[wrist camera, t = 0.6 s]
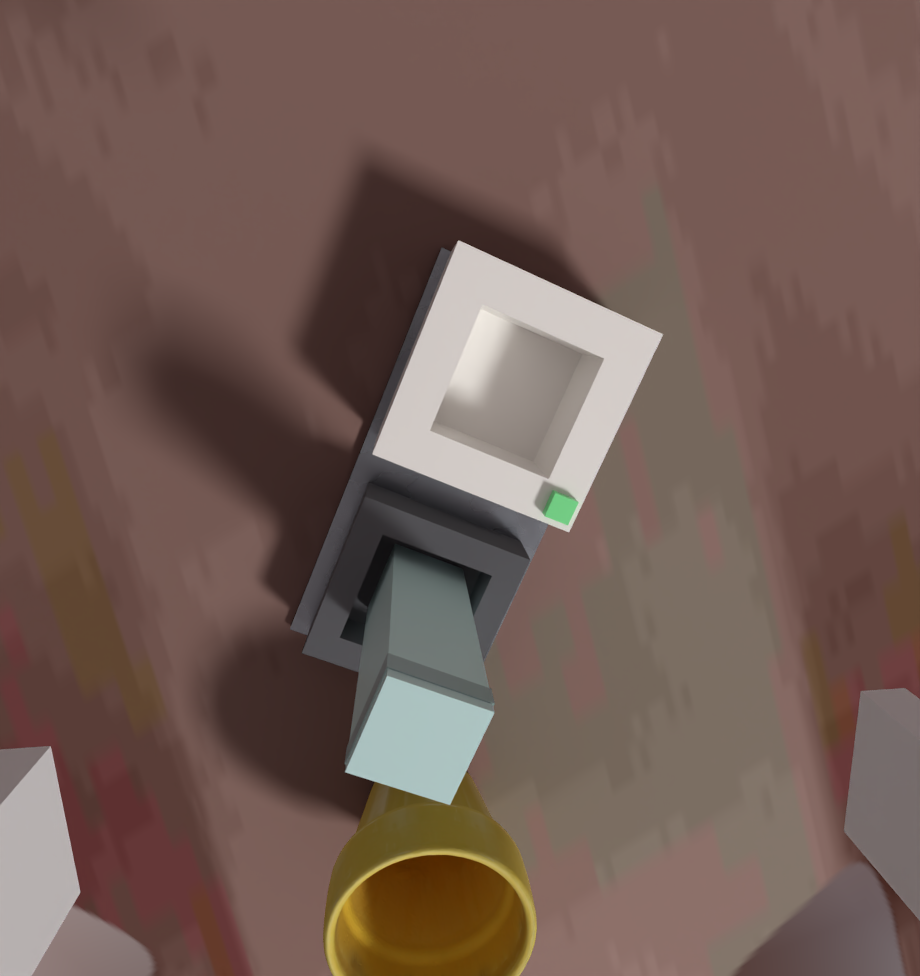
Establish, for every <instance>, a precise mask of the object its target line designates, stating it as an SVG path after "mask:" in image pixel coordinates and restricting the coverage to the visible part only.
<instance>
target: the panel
mask: <svg viewBox="0 0 920 976" xmlns="http://www.w3.org/2000/svg"><path fill="white" fill-rule="evenodd" d="M450 253H451V251H449V250H446V249H444V248H441V250H440V253H439V255H438V258H437V260H436V263H435V265H434V268H433V271H432V273H431V276H430V278H429V281H428V283H427V286H426V288H425V291H424V293H423V296H422V298H421V301H420V303H419V306H418V308H417V311H416V313H415V316H414V318H413V321H412V323H411V326H410V328H409V331H408V333H407V336H406V338H405V341H404V343H403V346H402V348H401V351H400V353H399V356H398V358H397V361H396V363H395V366H394V369H393V371H392V374H391V376H390V379H389V381H388V384H387V386H386V389H385V391H384V394H383V396H382V399H381V401H380V404H379V406H378V409H377V411H376V414H375V416H374V419H373V421H372V424H371V426H370V429H369V431H368V434H367V436H366V439H365V441H364V444H363V446H362V449H361V451H360V454H359V456H358V459H357V461H356V464H355V467H354V469H353V472H352V474H351V477H350V479H349V482H348V484H347V487H346V489H345V492H344V494H343V497H342V499H341V502H340V504H339V507H338V509H337V512H336V514H335V517H334V519H333V522H332V524H331V527H330V529H329V532H328V534H327V537H326V539H325V542H324V544H323V547H322V549H321V552H320V554H319V557H318V559H317V562H316V565H315V567H314V570H313V572H312V575H311V577H310V580H309V582H308V585H307V587H306V590H305V592H304V595H303V597H302V600H301V602H300V605H299V607H298V610H297V612H296V615H295V617H294V620H293V622H292V625H291V627H290V629H291V630H293V631H296V632H299V633H302V634H305V635H308V632H309V629H310V626H311V624H312V621H313V619H314V616H315V614H316V611H317V609H318V606H319V604H320V601H321V599H322V597H323V594H324V592H325V589H326V587H327V584H328V582H329V579H330V577H331V574H332V572H333V569H334V567H335V564H336V562H337V559H338V557H339V554H340V552H341V550H342V547H343V545H344V542H345V540H346V537H347V535H348V532H349V530H350V527H351V525H352V522H353V520H354V517H355V515H356V512H357V510H358V508H359V505H360V503H361V500H362V498H363V495H364V493H365V490H366V488H367V485H368V483H372V484H374V485H377V486H379V487H382V488H384V489H387V490H390V491H392V492H395V493H397V494H400V495H402V496H405V497H408V498H410V499H413V500H415V501H418V502H420V503H423V504H426V505H428V506H431V507H433V508H436V509H438V510H441V511H444V512H446V513H449V514H451V515H454V516H457V517H459V518H462V519H464V520H467V521H469V522H472V523H475V524H477V525H480V526H482V527H485V528H487V529H490V530H493V531H495V532H498V533H500V534H503V535H505V536H508V537H511V538H513V539H516V540H518V541H521V542H522V544H523V546H524V548H525V550H526V552H527V554H528V556H529V558H530V562H531V560H532V558H533V556H534V554H535V552H536V549H537V547H538V545H539V543H540V541H541V539H542V537H543V534H544V532H545V530H546V528H547V526H548V524H547V523H544V522H542V521H539V520H537V519H534V518H532V517H529V516H527V515H524V514H522V513H519V512H516V511H514V510H511V509H509V508H506V507H504V506H501V505H499V504H496V503H494V502H491V501H489V500H486V499H484V498H481V497H479V496H476V495H474V494H471V493H469V492H466V491H463V490H461V489H458V488H456V487H453V486H451V485H448V484H446V483H443V482H441V481H438V480H436V479H433V478H431V477H428V476H426V475H423V474H421V473H418V472H415V471H413V470H410V469H408V468H405V467H403V466H400V465H398V464H395V463H393V462H390V461H388V460H385V459H383V458H380V457H378V456H375V455H373V450H374V446H375V442H376V438H377V435H378V432H379V430H380V427H381V425H382V422H383V420H384V418H385V415H386V413H387V410H388V408H389V405H390V403H391V400H392V398H393V395H394V393H395V390H396V388H397V385H398V383H399V380H400V378H401V375H402V373H403V370H404V368H405V365H406V363H407V360H408V358H409V355H410V353H411V350H412V348H413V345H414V343H415V340H416V338H417V335H418V333H419V330H420V328H421V325H422V323H423V320H424V318H425V315H426V313H427V310H428V308H429V305H430V303H431V300H432V298H433V295H434V293H435V290H436V288H437V285H438V283H439V280H440V278H441V275H442V273H443V270H444V268H445V265H446V263H447V260H448V258H449V255H450ZM530 562H529V564H530ZM528 567H529V565H528ZM528 567H527V569H528ZM527 569H526V571H527ZM526 571H525V573H526ZM525 573H524V575H525ZM524 575H523V577H524ZM523 577H522V579H523ZM521 581H522V580H521ZM520 584H521V582H520ZM520 584H519V586H520ZM519 586H518V588H519ZM518 588H517V590H518ZM517 590H516V592H517ZM516 592H515V594H516ZM514 596H515V595H514ZM513 599H514V597H513ZM513 599H512V601H513ZM512 601H511V603H512ZM511 603H510V605H511ZM510 605H509V607H510ZM509 607H508V609H509ZM507 611H508V610H507ZM506 614H507V612H506ZM506 614H505V616H506ZM505 616H504V618H505ZM504 618H503V620H504ZM503 620H502V622H503ZM502 622H501V624H502ZM501 624H500V626H501ZM499 628H500V627H499ZM498 631H499V629H498ZM498 631H497V633H498ZM497 633H496V635H497ZM496 635H495V637H496ZM495 637H494V639H495ZM494 639H493V641H494ZM492 643H493V642H492ZM491 646H492V644H491ZM491 646H490V648H491ZM490 648H489V650H490ZM489 650H488V652H489ZM488 652H487V654H488ZM487 654H486V656H487ZM485 658H486V657H485ZM484 661H485V659H484ZM484 661H483V662H484Z"/></svg>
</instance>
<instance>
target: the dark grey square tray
mask: <svg viewBox="0 0 920 976" xmlns="http://www.w3.org/2000/svg"><path fill="white" fill-rule="evenodd" d="M394 544H398V545H401V546H403V547H406V548H409V549H411V550H414V551H417V552H419V553H422V554H425V555H427V556H430V557H433V558H435V559H438V560H441V561H443V562H446V563H449V564H451V565H454V566H457V567H459V568H462V569H463V572H464V576H465V581H466V586H467V590H468V595H469V599H470V604H471V608H472V613H473V617H474V622H475V626H476V631H477V635H478V640H479V644H480V649H481V653H482V658H483V661H484V659H485V657H486V654H487V652H488V650H489V648H490V646H491V644H492V642H493V639H494V637H495V635H496V633H497V631H498V629H499V627H500V624H501V622H502V620H503V618H504V616H505V614H506V612H507V610H508V607H509V605H510V603H511V601H512V599H513V597H514V595H515V592H516V590H517V588H518V586H519V584H520V582H521V580H522V577H523V575H524V573H525V571H526V569H527V567H528V565H529V562H530V558H529V556H528V554H527V552H526V550H525V548H524V546H523V544H522V542H521V541H518V540H516V539H513V538H511V537H508V536H505V535H503V534H500V533H498V532H495V531H493V530H490V529H487V528H485V527H482V526H480V525H477V524H475V523H472V522H469V521H467V520H464V519H462V518H459V517H457V516H454V515H451V514H449V513H446V512H444V511H441V510H438V509H436V508H433V507H431V506H428V505H426V504H423V503H420V502H418V501H415V500H413V499H410V498H408V497H405V496H402V495H400V494H397V493H395V492H392V491H390V490H387V489H384V488H382V487H379V486H377V485H374V484H372V483H368V485H367V488H366V490H365V493H364V495H363V498H362V500H361V503H360V505H359V508H358V510H357V512H356V515H355V517H354V520H353V522H352V525H351V527H350V530H349V532H348V535H347V537H346V540H345V542H344V545H343V547H342V550H341V552H340V554H339V557H338V559H337V562H336V564H335V567H334V569H333V572H332V574H331V577H330V579H329V582H328V584H327V587H326V589H325V592H324V594H323V597H322V599H321V601H320V604H319V606H318V609H317V611H316V614H315V616H314V619H313V621H312V624H311V626H310V629H309V632H308V635H307V638H306V642H305V645H304V648H303V651H302V653H303V654H306V655H309V656H312V657H315V658H318V659H321V660H324V661H327V662H330V663H333V664H335V665H338V666H341V667H344V668H347V669H350V670H353V671H356V672H359V667H360V660H361V653H362V646H363V638H364V631H365V624H366V617H367V609H368V606H369V603H370V601H371V599H372V596H373V594H374V591H375V589H376V587H377V584H378V582H379V580H380V577H381V575H382V572H383V570H384V568H385V565H386V563H387V561H388V558H389V556H390V553H391V551H392V549H393V546H394Z"/></svg>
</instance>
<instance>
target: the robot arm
mask: <svg viewBox="0 0 920 976" xmlns="http://www.w3.org/2000/svg"><path fill="white" fill-rule="evenodd" d="M844 832H845V833H846V834H847V835H848V837H849V838H850V839H851V840H852V841H853V842H854V844H855V845H856V846H857V847H858V848H859V850H860V851H861V852H862V853H863V854H864V855H865V857H866V858H867V859H868V860H869V861H870V862H871V864H872V865H873V866H874V867H875V868H876V870H877V871H878V872H879V873H880V874H881V875H882V877H883V878H884V879H885V880H886V881H887V883H888V884H889V885H890V886H891V887H892V888H893V890H894V891H895V892H896V893H897V894H898V896H899V897H900V898H901V899H902V900H903V901H904V903H905V904H906V905H907V906H908V907H909V908H910V910H911V911H912V912H913V913H914V914H915V916H916V917H917V918H918V919H919V920H920V699H919V698H917V697H916V696H915V695H913V694H912V693H911V692H909V691H908V690H907V689H905V688H900V689H886V690H871V691H861V695H860V703H859V711H858V719H857V728H856V736H855V744H854V753H853V761H852V769H851V777H850V786H849V794H848V802H847V810H846V819H845V827H844ZM79 894H80V888H79V883H78V878H77V874H76V869H75V864H74V859H73V854H72V849H71V844H70V839H69V834H68V829H67V824H66V819H65V814H64V809H63V804H62V799H61V795H60V790H59V785H58V780H57V775H56V770H55V765H54V760H53V755H52V750H51V746H46V747H32V748H17V749H2V750H0V976H32V974H33V972H34V971H35V969H36V967H37V966H38V964H39V962H40V960H41V959H42V957H43V955H44V954H45V952H46V950H47V948H48V947H49V945H50V943H51V942H52V940H53V938H54V936H55V935H56V933H57V931H58V929H59V928H60V926H61V924H62V923H63V921H64V919H65V918H66V916H67V914H68V913H69V911H70V909H71V907H72V906H73V904H74V902H75V901H76V899H77V897H78V895H79Z"/></svg>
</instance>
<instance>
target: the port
mask: <svg viewBox="0 0 920 976" xmlns="http://www.w3.org/2000/svg"><path fill="white" fill-rule="evenodd" d="M662 336H663V334H661V333H659V332H657V331H654V330H652V329H650V328H648V327H646V326H644V325H641V324H639V323H637V322H635V321H633V320H631V319H628V318H626V317H624V316H622V315H620V314H617V313H615V312H613V311H611V310H609V309H607V308H604V307H602V306H600V305H598V304H596V303H594V302H591V301H589V300H587V299H585V298H583V297H581V296H578V295H576V294H574V293H572V292H570V291H568V290H565V289H563V288H561V287H559V286H557V285H555V284H552V283H550V282H548V281H546V280H544V279H542V278H539V277H537V276H535V275H533V274H531V273H529V272H526V271H524V270H522V269H520V268H518V267H515V266H513V265H511V264H509V263H507V262H505V261H502V260H500V259H498V258H496V257H494V256H492V255H489V254H487V253H485V252H483V251H481V250H479V249H476V248H474V247H472V246H470V245H468V244H466V243H463V242H461V241H459V240H458V242H457V243H456V245H455V246H454V248H453V249H452V251H451V253H450V255H449V258H448V260H447V263H446V265H445V268H444V270H443V273H442V275H441V278H440V280H439V283H438V285H437V288H436V290H435V293H434V295H433V298H432V300H431V303H430V305H429V308H428V310H427V313H426V315H425V318H424V320H423V323H422V325H421V328H420V330H419V333H418V335H417V338H416V340H415V343H414V345H413V348H412V350H411V353H410V355H409V358H408V360H407V363H406V365H405V368H404V370H403V373H402V375H401V378H400V380H399V383H398V385H397V388H396V390H395V393H394V395H393V398H392V400H391V403H390V405H389V408H388V410H387V413H386V415H385V418H384V420H383V422H382V425H381V427H380V430H379V432H378V435H377V438H376V442H375V446H374V450H373V455H375V456H378V457H380V458H383V459H385V460H388V461H390V462H393V463H395V464H398V465H400V466H403V467H405V468H408V469H410V470H413V471H415V472H418V473H421V474H423V475H426V476H428V477H431V478H433V479H436V480H438V481H441V482H443V483H446V484H448V485H451V486H453V487H456V488H458V489H461V490H463V491H466V492H469V493H471V494H474V495H476V496H479V497H481V498H484V499H486V500H489V501H491V502H494V503H496V504H499V505H501V506H504V507H506V508H509V509H511V510H514V511H516V512H519V513H522V514H524V515H527V516H529V517H532V518H534V519H537V520H539V521H542V522H544V523H547V524H549V525H552V526H554V527H557V528H559V529H562V530H564V531H567V532H569V531H570V529H571V527H572V525H573V523H574V520H575V518H576V516H577V514H578V512H579V510H580V508H581V506H582V504H583V502H584V499H585V497H586V495H587V493H588V491H589V489H590V487H591V485H592V483H593V481H594V478H595V476H596V474H597V472H598V470H599V468H600V466H601V464H602V462H603V460H604V457H605V455H606V453H607V451H608V449H609V447H610V445H611V443H612V441H613V439H614V436H615V434H616V432H617V430H618V428H619V426H620V424H621V422H622V420H623V418H624V415H625V413H626V411H627V409H628V407H629V405H630V403H631V401H632V399H633V397H634V394H635V392H636V390H637V388H638V386H639V384H640V382H641V380H642V378H643V376H644V373H645V371H646V369H647V367H648V365H649V363H650V361H651V359H652V357H653V354H654V352H655V350H656V348H657V346H658V344H659V342H660V340H661V338H662Z"/></svg>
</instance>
